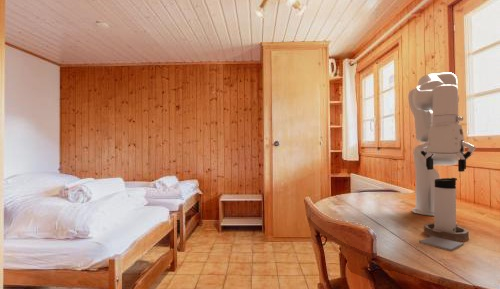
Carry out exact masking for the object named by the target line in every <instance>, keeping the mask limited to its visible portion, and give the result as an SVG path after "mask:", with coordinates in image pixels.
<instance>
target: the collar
mask: <svg viewBox="0 0 500 289" xmlns="http://www.w3.org/2000/svg"><path fill="white" fill-rule="evenodd" d="M458 224H459V223H457V222H456V233H451V232H443V229H440V228H434V223H431V222H428V223H426V224H424V226H423V228H424V230H423V232H424V234H425V235H427V236H428V237H431V236H435V237H439V238H443V239H448V240H452V241H456V242H466V241H468V240H470V238H469V234H470V233H469V230H468V229H467V228H464V227H463V226H462V227H461V226H459V225H458ZM467 239H468V240H467Z"/></svg>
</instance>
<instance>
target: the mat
mask: <svg viewBox="0 0 500 289" xmlns="http://www.w3.org/2000/svg"><path fill="white" fill-rule="evenodd" d="M418 243H419V244H422V245H427V246H429V247H433V248H437V249H441V250H444V251H449V252H453V251H454V250H457V249H460V247H463V246H464V242H461V241H452V240H448V239H443V238H439V237H435V236H431V237H430V236H428V237H426V238H423V239H421V240H419V241H418Z"/></svg>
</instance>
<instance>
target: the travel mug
mask: <svg viewBox="0 0 500 289" xmlns="http://www.w3.org/2000/svg"><path fill="white" fill-rule="evenodd" d="M457 181H458V179H457V178H456V177H450V178H449V177H447V178H446V177H445V178H440V179H435V187H434V188H435V189H434V216H433V217H434V218H433V221H434V228H440V229H443V232H451V233H456V223H457V186H456V185H457Z"/></svg>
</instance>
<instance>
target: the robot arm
mask: <svg viewBox="0 0 500 289" xmlns="http://www.w3.org/2000/svg"><path fill="white" fill-rule="evenodd" d="M407 99H408V106H409V108H410V110H411V112H412V114H413V117H414V128H415V129H414V130H415V138H416V141H417V142H418V143H421V144H419V145H416V146H415V147H414V149H413V154H412V155H413V160H414V161H413V162H414V167H415V168H414V169H415V207H412V208H411V212H412V213H414V214H417V215H423V216H431V217H434V189H435V188H434V187H435V179H441V176H440V173H439V172H438V171H437V169H435V168H434V166H455V165H457V164H458V165H457V166H458V167H457V168H458V170H457V171H458V172H459V173H462V172H465V170H466V169H467V159H469V158H470V157H471V156H472V155H473V153H474V152H475V150H476V148H477V146H476V145H473V144H470V143H469V142H466V141H465V136H464V135H465V134H464V132H463V131H464V130H463V125H462V124H460V122H462V121H464V117H463V116H460V115H459V101H460V96H459V88H458V78H457V76H456V74H454V72H453V73H452V72H439V73H428V74H425V75H423V76H422V77H420V78H419V80H418V82H417V86H416V87H415V88H412V89H411V90H410V91H409V93H408V98H407ZM465 148H467V152H465Z"/></svg>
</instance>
